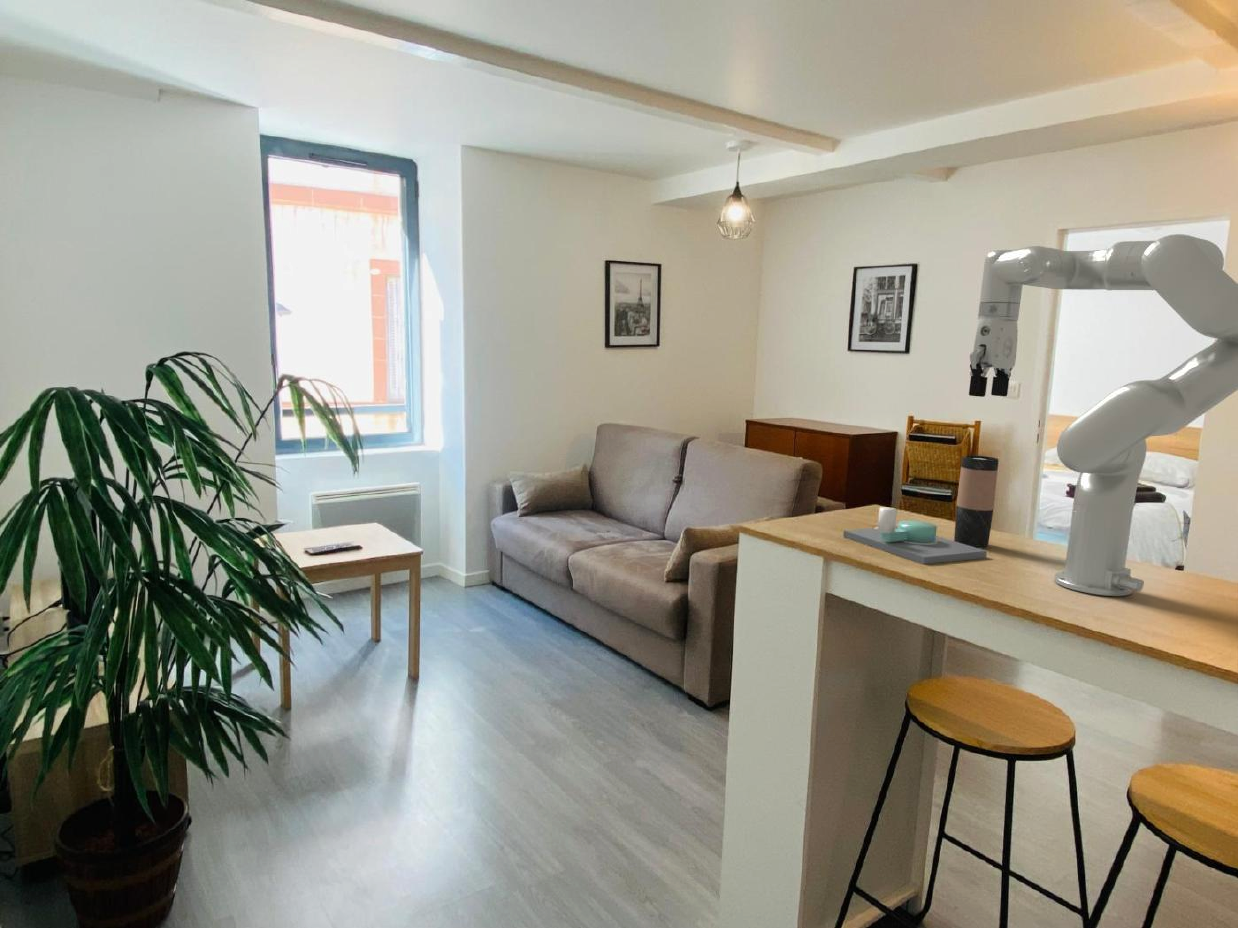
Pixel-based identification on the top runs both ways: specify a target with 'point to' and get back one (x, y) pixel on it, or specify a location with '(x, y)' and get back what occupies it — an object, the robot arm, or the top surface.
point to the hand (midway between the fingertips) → (988, 396)
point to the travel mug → (975, 500)
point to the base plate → (917, 547)
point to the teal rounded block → (904, 528)
